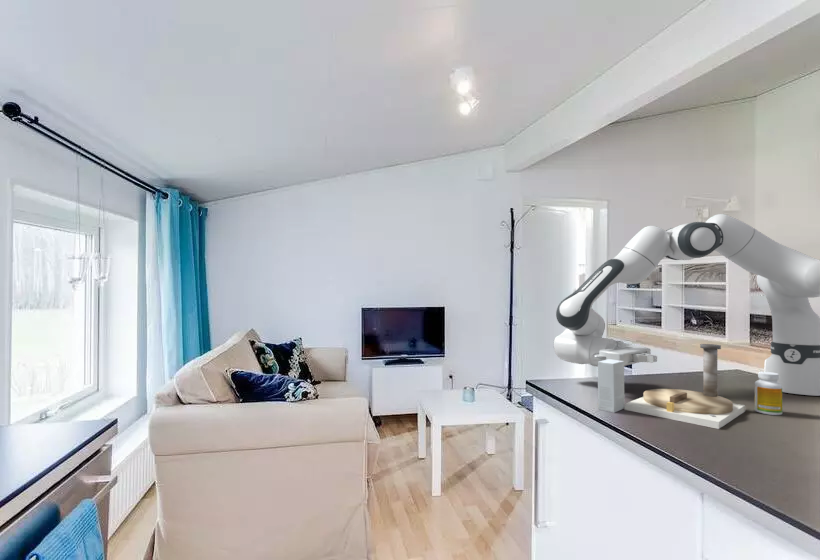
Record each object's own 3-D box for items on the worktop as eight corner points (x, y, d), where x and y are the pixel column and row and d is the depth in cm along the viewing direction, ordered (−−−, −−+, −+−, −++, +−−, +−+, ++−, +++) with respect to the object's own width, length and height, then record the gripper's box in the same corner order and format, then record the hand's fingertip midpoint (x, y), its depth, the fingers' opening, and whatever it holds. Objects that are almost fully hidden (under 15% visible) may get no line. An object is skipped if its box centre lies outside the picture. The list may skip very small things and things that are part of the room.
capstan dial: (705, 395, 123) (705, 342, 123) (752, 415, 104) (752, 352, 104) (631, 393, 124) (631, 340, 125) (664, 412, 105) (664, 350, 106)
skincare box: (607, 405, 118) (608, 358, 118) (624, 408, 115) (625, 360, 115) (597, 409, 114) (597, 361, 114) (614, 413, 110) (614, 363, 111)
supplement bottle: (787, 416, 109) (787, 375, 109) (762, 414, 110) (762, 374, 110) (774, 410, 115) (774, 371, 115) (750, 409, 116) (750, 370, 116)
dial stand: (658, 396, 128) (658, 383, 128) (745, 411, 113) (745, 397, 113) (624, 409, 114) (624, 395, 114) (718, 428, 99) (718, 412, 99)
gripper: (589, 344, 130) (640, 350, 120) (620, 340, 144) (668, 345, 133) (588, 367, 130) (639, 374, 120) (620, 360, 143) (668, 367, 133)
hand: (655, 359), depth 127 cm, fingers closed
